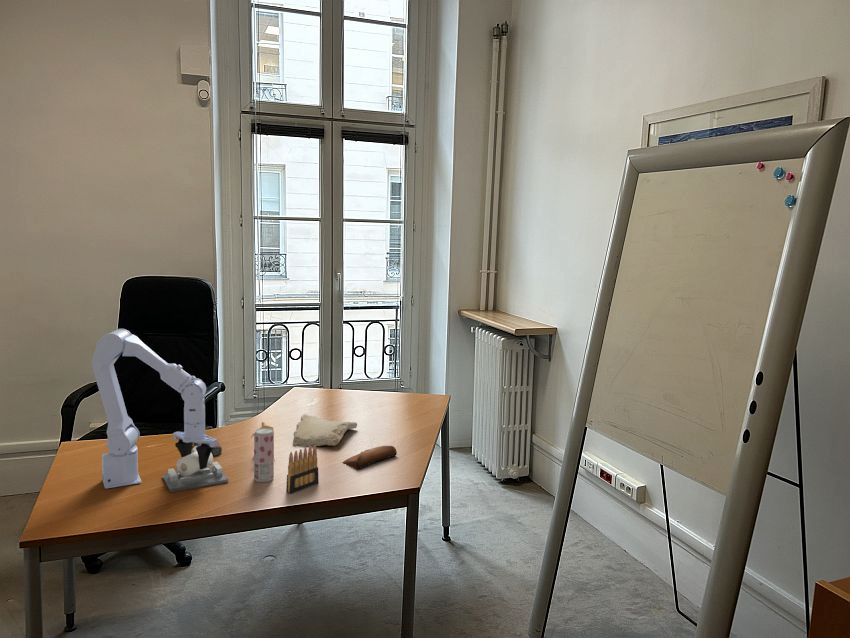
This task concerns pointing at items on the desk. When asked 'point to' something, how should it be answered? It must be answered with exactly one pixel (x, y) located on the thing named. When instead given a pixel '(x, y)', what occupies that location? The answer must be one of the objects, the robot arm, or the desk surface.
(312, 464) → the ammunition clip
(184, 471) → the paper roll
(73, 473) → the desk surface
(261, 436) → the beverage can
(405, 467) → the desk surface
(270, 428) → the figurine
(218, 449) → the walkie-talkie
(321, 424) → the flat sandstone slab
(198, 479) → the roll cradle
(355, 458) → the sunglasses case
